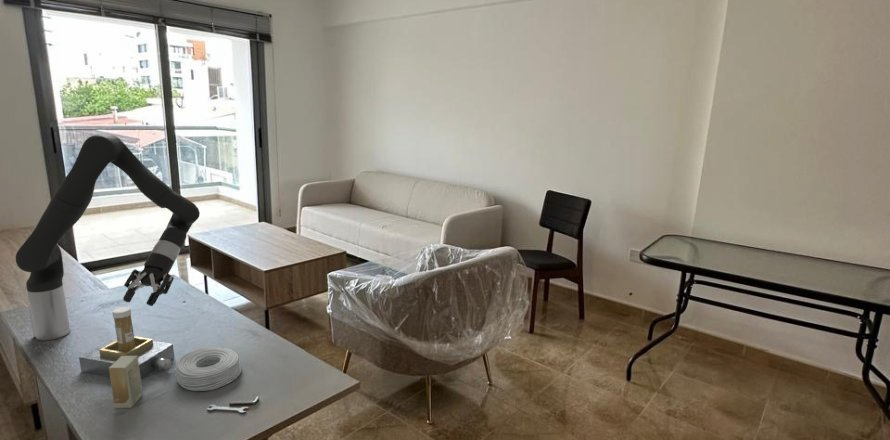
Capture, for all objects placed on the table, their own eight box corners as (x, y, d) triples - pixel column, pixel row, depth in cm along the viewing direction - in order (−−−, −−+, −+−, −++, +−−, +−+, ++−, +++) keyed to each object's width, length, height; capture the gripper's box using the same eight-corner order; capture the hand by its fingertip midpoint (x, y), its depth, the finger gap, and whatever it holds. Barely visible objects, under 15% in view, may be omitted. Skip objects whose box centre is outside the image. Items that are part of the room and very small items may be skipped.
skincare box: (127, 394, 132) (121, 354, 129) (143, 394, 132) (138, 354, 129) (113, 409, 126) (107, 367, 123) (130, 408, 126) (125, 367, 123)
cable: (172, 371, 144) (170, 353, 143) (233, 355, 154) (232, 338, 153) (181, 401, 130) (179, 381, 129) (248, 381, 141) (246, 363, 139)
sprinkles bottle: (136, 351, 145) (130, 310, 141) (118, 355, 142) (112, 313, 139) (136, 344, 148) (130, 305, 145) (118, 348, 146) (112, 308, 143)
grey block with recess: (81, 372, 142) (77, 350, 140) (121, 349, 155) (119, 329, 153) (149, 384, 137) (146, 362, 135) (185, 360, 150) (183, 339, 148)
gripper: (136, 249, 154) (109, 295, 146) (174, 254, 151) (149, 301, 143) (151, 260, 160) (126, 304, 152) (188, 264, 157) (164, 310, 149)
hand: (137, 303), depth 147 cm, fingers open, 8 cm apart
